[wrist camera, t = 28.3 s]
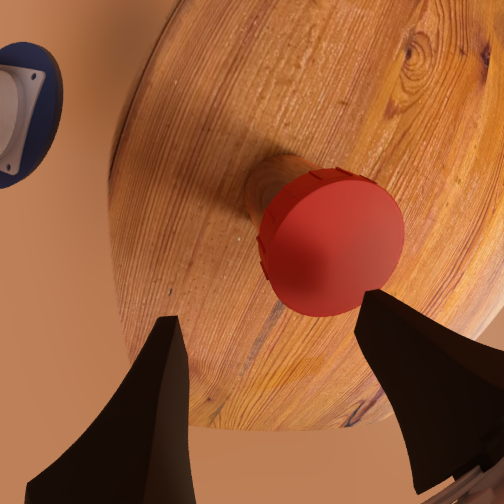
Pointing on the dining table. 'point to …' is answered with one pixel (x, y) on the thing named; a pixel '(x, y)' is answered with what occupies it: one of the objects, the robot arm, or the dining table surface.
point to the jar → (272, 182)
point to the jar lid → (329, 241)
